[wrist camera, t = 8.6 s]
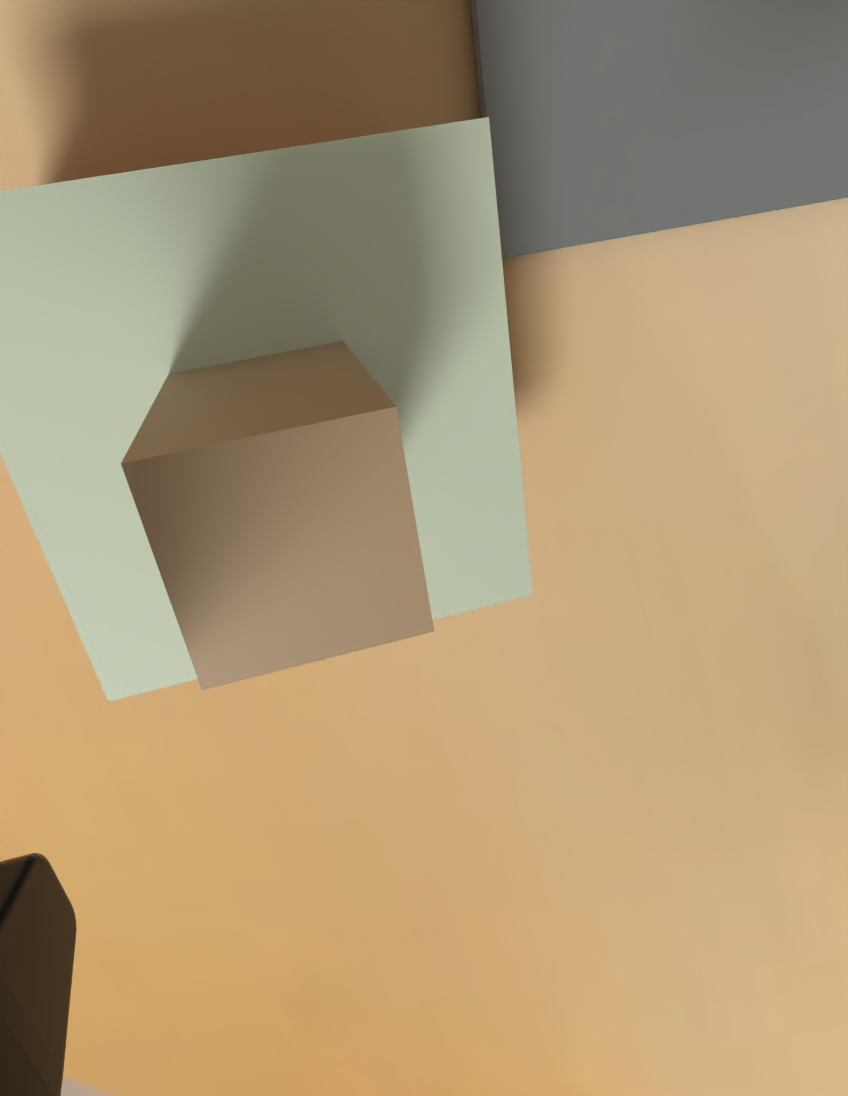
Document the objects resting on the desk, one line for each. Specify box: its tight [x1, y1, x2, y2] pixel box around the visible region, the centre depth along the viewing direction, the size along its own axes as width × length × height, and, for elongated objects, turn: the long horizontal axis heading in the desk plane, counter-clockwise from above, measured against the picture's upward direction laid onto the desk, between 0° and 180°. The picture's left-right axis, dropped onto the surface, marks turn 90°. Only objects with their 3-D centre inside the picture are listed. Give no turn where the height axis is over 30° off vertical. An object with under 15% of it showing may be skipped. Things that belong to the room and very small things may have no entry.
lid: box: [0, 117, 533, 701], centre depth 11 cm, size 9×9×6 cm
